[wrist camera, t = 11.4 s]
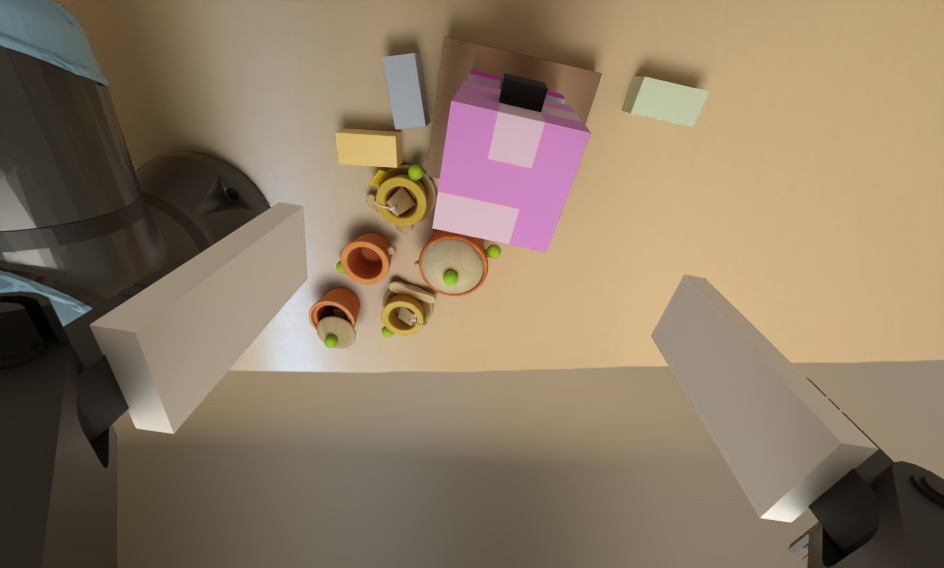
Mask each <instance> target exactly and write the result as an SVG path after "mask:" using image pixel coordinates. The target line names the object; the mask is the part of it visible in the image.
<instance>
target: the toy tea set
mask: <svg viewBox="0 0 944 568" xmlns="http://www.w3.org/2000/svg"><path fill="white" fill-rule="evenodd" d="M370 186H375V187H376V189H377V194H376V195H375V194H369V195H368V196H367V198H366V203H367V204H368V205H369V206H370V207H372V208H373V209H374V210H376V211H378V212H379V213H381V215H382V216H383V217H384V218H385V219H386V220H388V221H389V222H390V223H392V224H394V225H395V226H396V228H397V229H398V230H399V231H400V232H403V233H410V232H411V231H412V230H413V224H415V223H417V222H419V221H422V220H424V219H425V218H427V217H428V216H429V215H430V214H431V213H432V211H433V210H434V207H435V204H436V190H435V186H434V184H433V182H432V180H431V179H430V177H429V176H426V173H425V172H424V171H423V169H422V167H421V166H420V165H418V164H413V165H404V164H403V165H399V166H398V167H397V168H393V167H391V168H389V169H388V170H387V171H382V170H378V172H377V174H376V175H375V177H374V178H373V180H372V182H371V183H370ZM395 253H396V248H395V247H394V246H391V245H390V244H389V242H388V241H387V240H386V239H385V238H384V237H383V236H381V235H379V234H376V233H366V234H363V235H361V236H360V237H358V238H357V239H355V240H354V241H352V242H351V243H349V244H348V245H347V246H346V247H345V248H344V249H343V251H342V254H341V261H339V262H338V263H337V265H336V267H337V270H338V271H339V272H341V273H346V274H347V275H348V276H349V277H350V278H351V279H353V280H354V281H356V282H358V283H361V284H366V285H370V284H376V283H379V282H381V281H382V280H383V279H385V277H386V276H387V274H388V272H389V267H390V262H391V257H392V254H395ZM500 253H501V249H500V247H499V246H498V245H495V244H493V245H490V246H489V247H488V248H487V249H486V250H485V249H484V245H483V241H482V239H481V238H476V237H472V236H467V235H462V234H457V233H453V232H448V231H443V230H437V232H436V233H435V234H434V235H433V236H432V238H431V239H430V240H429V241H428V242H427V243H426V245H425V246H424V247H423V249H422V251H421V254H420V257H419V260H418V261H416V262H415V266H416V268H417V270H418V273H420V274H421V275H422V277H423V279H424V281H425V282H426V283H427V284H428V285H429V286H430V287H431V288H432V289H433V290H435V291H437V292H439V293H441V294H444V295H448V296H462V295H466V294H469V293H471V292H473V291H475V290H476V289H477V288H478V287H479V286H481V284H482V283H483V282H484V280H485V278H486V276H487V272H488V260H487V257H490V258H497V257H498V256H499V255H500ZM389 289H390V290H389V291H388V292H387V293H386V295H385V297H384V301H383V306H384V309H383V311H382V321H383V323H384V325H385V326H384V327H383V329H382V334H383V335H384V336H385V337H390V336H392V334H393V333H395V334H398V335H411V334H414V333H416V332H418V331H419V330H420V329H421V328H422V327H423V326H425V325H426V324H427V321H428V320H429V319H430V317H431V315H432V312H433V303H434V302H435V300H436V296H435V295H434V294H432V293H429V292H426V291H424V290H423V289H421V288H419V287H417V286H414V285H410V284H404V283H402V282H400V281H393V282H390V284H389ZM359 309H360V301H359V299H358V297H357V296H356V295H355V294H354V293H353V292H352V291H350V290H348V289H345V288H335V289H332V290H331V291H329V292H328V293H327V294H326V295H325V296H323V297H322V298H321V299H320V300H319V301H318V302H316V303H315V304H314V305H313V306H312V307H311V309H310V311H309V319H310V322H311V324H312V326H313V327H314V328H315V329H316V330H317V334H318V336H319V338H320V339H321V340H322V341H323V342H324V343H325V345H326V346H327V347H330V348H332V347H333V348H339V349H342V348H347V347H349V346H351V345H352V344H353V343H354V341H355V339H356V332H355V329H354V327H355V323H356V320H357V316H358V313H359Z"/></svg>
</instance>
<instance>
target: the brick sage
mask: <svg viewBox="0 0 944 568" xmlns="http://www.w3.org/2000/svg"><path fill="white" fill-rule="evenodd" d="M708 94H709V91H705V90H701V89H696V88H692V87H688V86H683V85H679V84H675V83H670V82H666V81H662V80H657V79H653V78H649V77H643V76H634V78H633V81H632V84H631V87H630V89H629V92H628V95H627V97H626V100H625V103H624V106H623V108H622V111H625V112H628V113H631V114H636V115H640V116H645V117H649V118H654V119H658V120H662V121H667V122H671V123H676V124H680V125H685V126H689V127H693V126H694V124H695V122H696V119H697V117H698V115H699V113H700V111H701V109H702V107H703V104H704V102H705V100H706V98H707V96H708Z"/></svg>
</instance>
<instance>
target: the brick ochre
mask: <svg viewBox="0 0 944 568" xmlns="http://www.w3.org/2000/svg"><path fill="white" fill-rule="evenodd" d="M335 137H336V145H337V153H338V161H339V164H348V165H363V166H378V167H393V168H397V167H398V166H399V165H400V164H401V163H402V162H403V145H402V132H393V131H377V130H362V129H346V128H345V129H342V130H340V131H337V132H335Z"/></svg>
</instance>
